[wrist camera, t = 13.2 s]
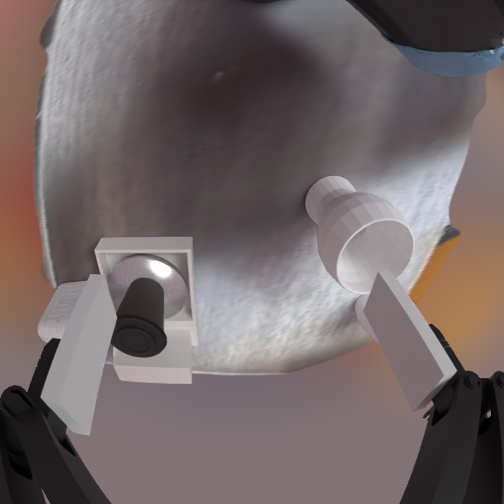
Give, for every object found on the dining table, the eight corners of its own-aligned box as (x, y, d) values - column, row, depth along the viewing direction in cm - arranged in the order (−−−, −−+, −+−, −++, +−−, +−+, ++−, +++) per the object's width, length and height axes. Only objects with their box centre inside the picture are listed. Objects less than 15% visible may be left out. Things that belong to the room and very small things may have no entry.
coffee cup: (120, 305, 42) (105, 355, 34) (121, 264, 38) (102, 314, 30) (169, 316, 44) (163, 367, 36) (177, 275, 40) (170, 329, 32)
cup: (315, 245, 45) (351, 313, 32) (281, 191, 40) (313, 251, 27) (372, 209, 43) (426, 265, 30) (345, 151, 37) (405, 193, 25)
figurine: (389, 303, 55) (415, 347, 45) (356, 319, 56) (378, 366, 46) (385, 280, 51) (414, 325, 41) (349, 297, 52) (374, 346, 42)
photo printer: (66, 300, 46) (43, 351, 35) (56, 282, 43) (29, 332, 33) (112, 296, 46) (94, 352, 36) (103, 276, 44) (80, 332, 33)
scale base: (101, 237, 40) (74, 285, 30) (192, 236, 42) (186, 287, 32) (126, 333, 51) (115, 382, 41) (198, 334, 53) (198, 386, 43)
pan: (107, 246, 40) (100, 258, 37) (185, 245, 41) (183, 258, 39) (121, 306, 46) (117, 319, 44) (190, 307, 48) (189, 321, 45)
